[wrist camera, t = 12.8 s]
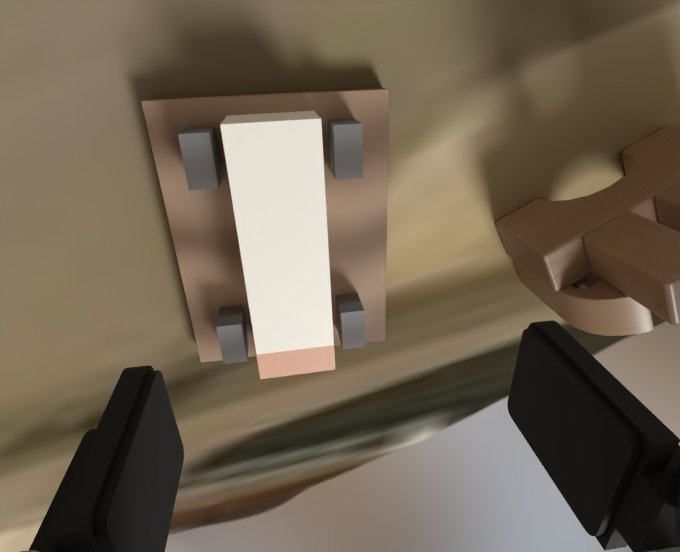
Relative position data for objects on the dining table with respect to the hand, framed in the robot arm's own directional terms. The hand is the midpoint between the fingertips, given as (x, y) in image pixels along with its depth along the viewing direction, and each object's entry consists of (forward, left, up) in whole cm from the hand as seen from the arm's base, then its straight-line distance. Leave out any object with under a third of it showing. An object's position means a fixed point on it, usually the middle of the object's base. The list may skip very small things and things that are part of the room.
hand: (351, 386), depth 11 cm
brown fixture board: (+3, -1, -20) cm, 20 cm away
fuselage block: (+3, -1, -18) cm, 18 cm away
